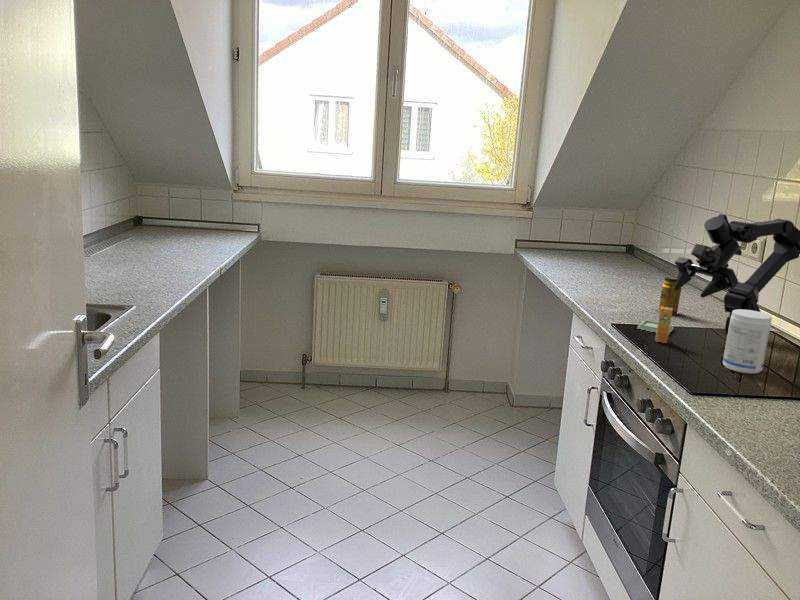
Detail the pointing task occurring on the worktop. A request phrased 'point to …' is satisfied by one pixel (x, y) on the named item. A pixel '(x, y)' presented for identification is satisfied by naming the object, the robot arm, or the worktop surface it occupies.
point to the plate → (651, 326)
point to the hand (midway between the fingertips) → (687, 292)
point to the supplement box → (663, 324)
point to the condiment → (670, 295)
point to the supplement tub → (747, 341)
